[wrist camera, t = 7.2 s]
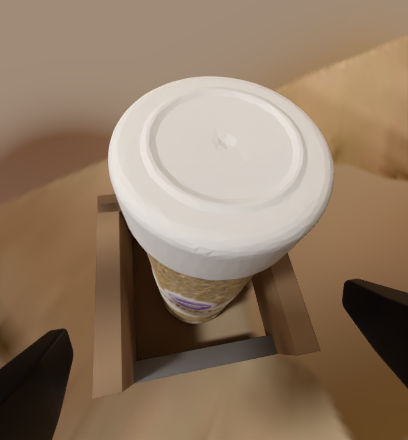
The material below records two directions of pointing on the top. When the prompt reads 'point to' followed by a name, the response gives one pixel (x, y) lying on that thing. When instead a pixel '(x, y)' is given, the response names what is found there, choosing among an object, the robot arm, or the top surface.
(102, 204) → the cradle
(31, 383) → the robot arm
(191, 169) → the sprinkles bottle
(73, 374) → the top surface
